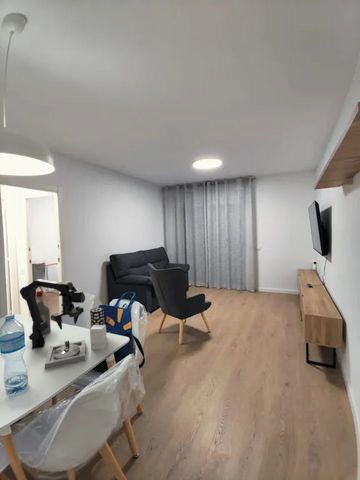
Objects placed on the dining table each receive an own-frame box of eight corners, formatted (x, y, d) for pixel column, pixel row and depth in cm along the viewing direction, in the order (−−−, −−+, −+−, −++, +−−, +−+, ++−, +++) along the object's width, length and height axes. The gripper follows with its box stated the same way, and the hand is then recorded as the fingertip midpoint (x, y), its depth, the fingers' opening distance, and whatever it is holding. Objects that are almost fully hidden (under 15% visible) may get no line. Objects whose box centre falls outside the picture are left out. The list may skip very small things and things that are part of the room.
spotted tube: (97, 343, 154) (95, 313, 153) (89, 340, 159) (87, 310, 157) (107, 337, 161) (106, 308, 160) (99, 335, 166) (97, 306, 164)
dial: (79, 356, 136) (79, 349, 136) (51, 362, 131) (51, 354, 131) (80, 344, 149) (79, 338, 149) (55, 349, 144) (54, 342, 144)
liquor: (41, 329, 177) (38, 289, 175) (52, 329, 176) (49, 289, 174) (31, 335, 168) (28, 293, 166) (43, 335, 167) (40, 293, 165)
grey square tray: (44, 369, 128) (44, 363, 127) (50, 351, 146) (49, 345, 146) (85, 360, 135) (84, 355, 135) (85, 344, 153) (85, 339, 153)
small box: (107, 344, 153) (106, 324, 152) (104, 349, 147) (102, 328, 146) (94, 344, 153) (93, 324, 152) (90, 349, 147) (89, 329, 146)
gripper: (59, 309, 137) (60, 336, 138) (88, 300, 152) (89, 324, 153) (49, 305, 144) (50, 331, 145) (78, 297, 159) (79, 320, 160)
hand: (68, 326), depth 151 cm, fingers open, 9 cm apart
